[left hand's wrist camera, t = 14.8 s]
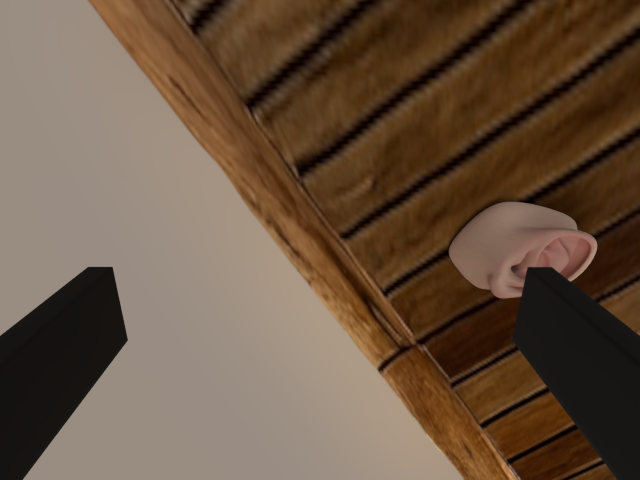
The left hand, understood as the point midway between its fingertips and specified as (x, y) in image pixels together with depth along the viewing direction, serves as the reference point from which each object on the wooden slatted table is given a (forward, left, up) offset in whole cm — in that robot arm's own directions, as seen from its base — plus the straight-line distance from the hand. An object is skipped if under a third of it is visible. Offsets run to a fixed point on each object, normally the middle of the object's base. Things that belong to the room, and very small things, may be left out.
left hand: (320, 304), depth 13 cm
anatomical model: (-10, +22, -31) cm, 39 cm away
